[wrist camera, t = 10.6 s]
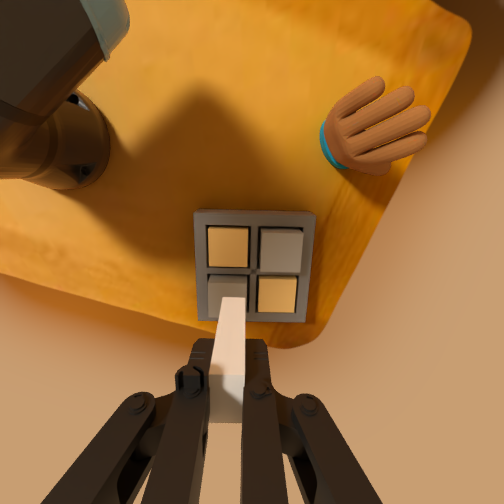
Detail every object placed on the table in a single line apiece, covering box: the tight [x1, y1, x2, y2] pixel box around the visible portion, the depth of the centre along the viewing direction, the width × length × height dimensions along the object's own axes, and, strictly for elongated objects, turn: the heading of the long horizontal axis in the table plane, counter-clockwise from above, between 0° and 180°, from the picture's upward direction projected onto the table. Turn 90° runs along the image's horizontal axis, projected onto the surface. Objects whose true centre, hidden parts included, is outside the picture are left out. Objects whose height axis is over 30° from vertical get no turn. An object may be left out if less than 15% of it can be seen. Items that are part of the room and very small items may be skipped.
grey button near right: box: [259, 227, 304, 273], centre depth 39 cm, size 6×6×4 cm
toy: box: [320, 76, 431, 176], centre depth 32 cm, size 12×7×15 cm, turn 28°
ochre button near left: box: [208, 225, 248, 267], centre depth 40 cm, size 6×6×4 cm
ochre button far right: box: [257, 275, 297, 313], centre depth 43 cm, size 6×6×4 cm
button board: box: [193, 209, 316, 322], centre depth 42 cm, size 18×18×4 cm
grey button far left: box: [208, 274, 247, 318], centre depth 41 cm, size 6×6×4 cm
